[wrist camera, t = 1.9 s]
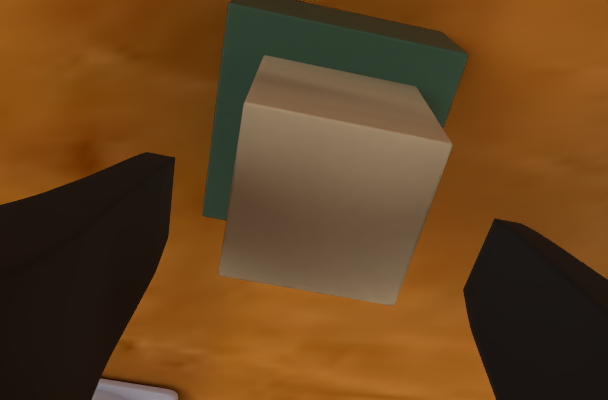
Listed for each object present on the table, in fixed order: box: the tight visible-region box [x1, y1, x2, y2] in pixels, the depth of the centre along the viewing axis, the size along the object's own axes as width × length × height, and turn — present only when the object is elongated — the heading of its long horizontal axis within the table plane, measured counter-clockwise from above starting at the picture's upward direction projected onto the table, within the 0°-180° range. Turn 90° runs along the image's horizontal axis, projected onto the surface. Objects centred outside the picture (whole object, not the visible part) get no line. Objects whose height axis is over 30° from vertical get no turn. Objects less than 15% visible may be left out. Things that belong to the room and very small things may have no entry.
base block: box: [202, 0, 468, 220], centre depth 18 cm, size 7×7×4 cm
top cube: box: [219, 55, 452, 306], centre depth 14 cm, size 5×5×5 cm
